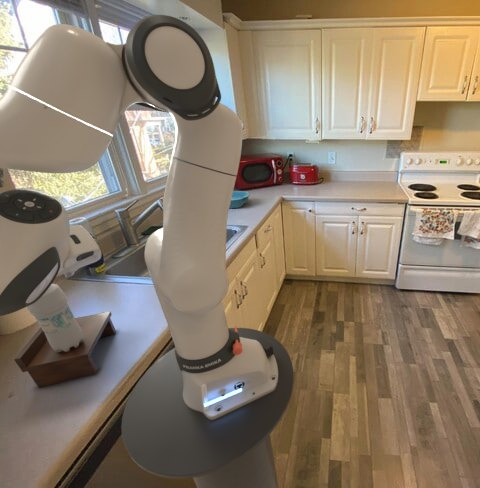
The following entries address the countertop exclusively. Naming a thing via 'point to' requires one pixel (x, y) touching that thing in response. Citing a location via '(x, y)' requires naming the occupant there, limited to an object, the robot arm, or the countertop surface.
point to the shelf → (64, 353)
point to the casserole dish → (238, 199)
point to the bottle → (57, 320)
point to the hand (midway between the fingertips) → (41, 283)
